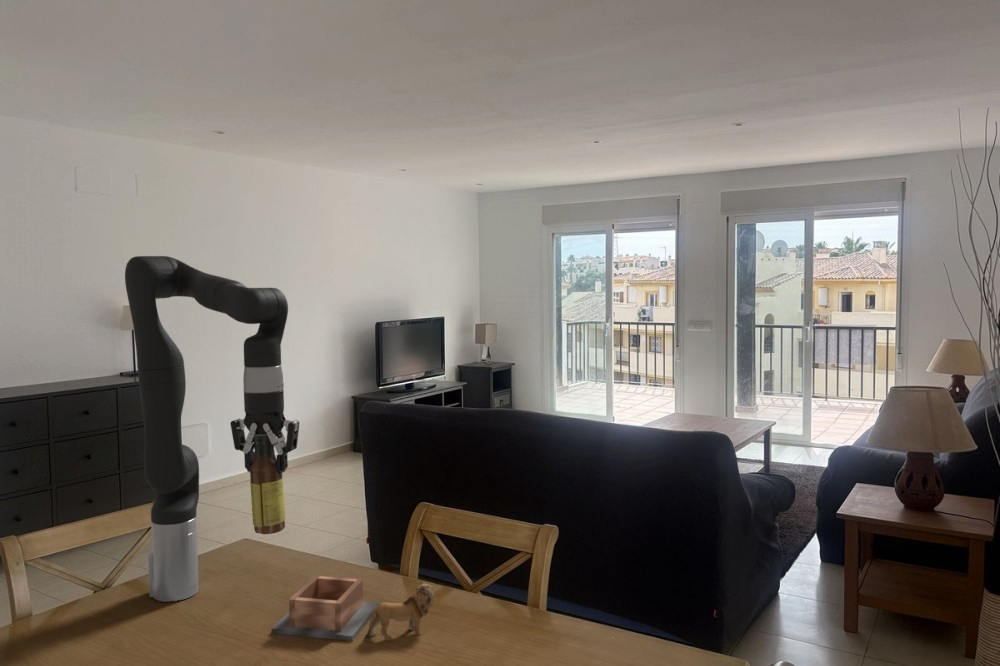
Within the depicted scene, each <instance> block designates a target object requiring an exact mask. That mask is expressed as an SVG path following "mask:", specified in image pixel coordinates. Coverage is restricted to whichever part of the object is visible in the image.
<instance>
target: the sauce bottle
mask: <svg viewBox="0 0 1000 666" xmlns="http://www.w3.org/2000/svg"><path fill="white" fill-rule="evenodd" d="M253 441H254V447H255V449H254V452H255V453H254V454H255V458H254V460H253V462H252V464H251V467H250V472H249V474H250V475H249V477H250V481H249V483H250V499H251V512H252V513H251V514H252V525H253V529H254V531H255V533H256V534H261V535H272V534H276V533H278V532H279V533H280V532H282V531H283V530H284V529H285V527H286V507H285V494H284V493H285V492H284V480H283V473H277V455H276V453H275V452H276V450H275V447H274V445H272V443H271V441H270V439H269V437H268V435H267V434H255V435H254V437H253Z"/></svg>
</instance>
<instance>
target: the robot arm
mask: <svg viewBox="0 0 1000 666" xmlns="http://www.w3.org/2000/svg"><path fill="white" fill-rule="evenodd" d="M124 283H125V290H126V295H127V301H128V305H129V310H130V315H131V322H132V326H133V332H134V333H133V334H134V342H135V350H136V362H137V365H136V367H137V375H138V376H137V377H138V385H139V386H138V387H139V394H140V403H141V404H140V405H141V412H142V420H143V421H142V422H143V429H144V430H143V431H144V454H143V455H144V456H143V457H144V459H143V461H144V462H143V463H144V464H143V468H144V469H143V470H144V471H143V472H144V478H145V480H146V481H145V482H146V483H147V485H148V486H149V487H150V488H151V489H152V490H153V491H154V492H156V493H155V499H154V502H153V505H152V507H151V509H150V522H151V523H150V524H151V553H149V554H148V557H147V563H148V564H147V566H148V568H147V569H148V588H149V589H148V592H149V594H148V596H149V598H153V599H154V600H155V601H158V602H163V603H167V602H169V603H171V601H172V602H178V600H179V601H182V600H185V599H189V598H191V597H193V596H195V595H196V594H197V593H198V591H199V561H198V559H199V558H198V556H199V555H198V527H197V525H198V523H197V521H198V520H197V519H198V518H197V508H198V503H199V498H200V466H199V459H198V457H197V455H196V453H195V451H194V450H193V449H192V448H191V447H189V446H187V445H184V444H182V437H181V435H182V434H181V419H182V415H183V408H184V403H185V398H186V387H187V386H186V383H187V382H186V381H187V380H186V369H185V362H184V356H183V355H182V352H181V350H180V349H179V348H178V346H177V345H176V343H175V342H174V340H173V339H172V337H170V336H169V334H168V332H167V331H166V329H165V328H164V327H163V324H162V323H161V319H160V316H159V313H158V308H157V299H169V298H172V297H186V298H187V297H188V298H192V299H195V301H196V303H198V304H199V305H200V306H202V307H203V308H205V309H209V310H211V311H215V312H217V313H221V314H225V315H227V316H228V317H230V318H231V319H233V320H235V321H236V322H239V323H243V324H246V325H255V324H259V325H258V329H257V332H256V333H255V334H253V335H251V336H249V337H247V338H246V339H245V340H244V342H243V366H244V367H243V368H244V369H243V377H242V379H243V380H242V381H243V402H244V403H243V404H244V406H243V408H244V412H245V416H244V418H243V419H242V418H237V419H234V420H232V421H230V429H231V434H232V441H233V446H234V449H235V450H236V451H240V452H242V453H243V454H244V468H245V470H246V471H247V472H248V473H250V467H251V464H252V462H253V460H254V458H255V454H254V453H255V447H254V441H253V437H254V435H255V434H267V435H268V437H269V439H270V441H271V443H272V445H274V450H275V452H277V454H276V459H277V473H282V474H284V472H286V470H288V467H289V464H288V463H289V462H288V461H289V460H288V453H290V452H292V451H294V450H296V449H297V448H298V447H297V446H298V439H299V430H300V429H299V428H300V421H299V420H297V419H296V420H287V418H286V417H285V415H284V411H285V396H284V395H285V394H284V392H285V391H284V390H285V389H284V385H285V383H284V374H283V369H282V348H281V347H282V341H283V338H284V333H285V332H284V331H285V328H286V324H287V319H288V315H289V314H288V313H289V305H288V300H287V297H286V295H285V294H284V292H283V291H282V290H281V289H279V288H276V287H247V286H246V285H245V284H244V283H242V282H240V281H237V280H233V279H231V278H225V277H222V276H219V275H214V274H212V273H211V274H210V273H206V272H204V271H201V270H199V269H196V268H194V266H193V267H192V266H191V265H189V264H187V263H185V262H183V261H181V260H179V259H176V258H174V257H172V256H167V255H166V256H165V255H137V256H133V257H131V258H130V259H129V260H128V262H127V263H126V265H125V271H124ZM284 427H285V431H286V433H287V434H286V437H285V435H284V433H283V431H282V430H283V428H284ZM245 429H247V430H248V433H247V435H245ZM246 436H247V437H246Z"/></svg>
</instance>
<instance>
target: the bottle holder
mask: <svg viewBox="0 0 1000 666" xmlns="http://www.w3.org/2000/svg"><path fill="white" fill-rule="evenodd" d="M363 581H364V579H361V578H360V579H359V578H348V577H337V576H323V575H314V576H313V577H312V578H311V579H309V581H307V582H306V584H304V585H303V586H301V588H300V589H299V590H298V591H297V592H296V593H294V594H293V595H292V596H291V597H290V598H289V599H288V603H289V605H288V606H289V608H288V609H289V611H288V612H287V613H286V614H285V615H283V617H282V618H281V619H280V620H279V621H278V622H276V624H275V625H273V626H272V627H271V634H276V635H286V636H299V637H307V638H308V637H309V638H319V639H327V640H328V639H329V640H339V641H349V642H353V641H354V640H355V639H356V637H357V636H358V635H359V633H360V632H361V631H362V630H363V629H364V627H365V626H366V624H368V623H369V622H370V619H371V615H372V613H373V611H374V609H375V608H376V607H377V606H378V605H380V602H378V601H377V602H376V601H365V600H364V582H363Z"/></svg>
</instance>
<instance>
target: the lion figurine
mask: <svg viewBox="0 0 1000 666" xmlns="http://www.w3.org/2000/svg"><path fill="white" fill-rule="evenodd" d="M433 587H434V586H433V585H430V584H427V583H422V584H420V585H418V586H416V587H415V591H414V592H413V593H412V594H411V595H410V597H408V598H407V599H406V600H405V601H403V602H388V601H387V602H382V603H379V605H378V606H377V607H376V608H375V609H374V611H373V613H372V615H371V618H370V619H369V626H368V631H367V633H366V634H365V636H364V637H363V640H368V639H369V637H370V636H376V635H377V631H375V630H374V629H375V627H376V626H378V625H379V624H380V625H381V630H380V633H381V635H382V636H383V638H384V640H385V641H387V642H388V641H390V642H391V641H392V640H393V638H392V636H391V635H388V634H387V633H388V632H387V629H388V627H389V625H390V620H392V621H393V622H406V621H408V629H409V630H410V631H414V634H415V635H416V636H421V635H422V634H423V632H422V631H421V630H420V624H421V618H423V617H426V616H427V615H428V614H429V612H430V609H431V607H432V606H433V603H434V602H433V601H434V599H435V592H434V588H433Z"/></svg>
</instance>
